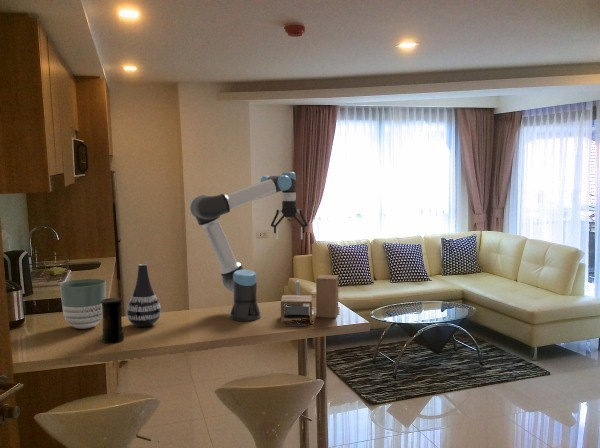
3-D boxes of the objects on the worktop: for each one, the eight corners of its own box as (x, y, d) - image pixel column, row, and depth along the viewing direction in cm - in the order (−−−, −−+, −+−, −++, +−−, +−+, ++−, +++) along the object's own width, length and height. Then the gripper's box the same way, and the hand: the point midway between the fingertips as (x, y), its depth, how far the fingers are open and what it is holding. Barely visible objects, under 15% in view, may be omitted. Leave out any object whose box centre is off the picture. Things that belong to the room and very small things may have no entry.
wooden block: (335, 318, 258) (335, 278, 256) (316, 317, 260) (316, 278, 258) (338, 313, 268) (338, 275, 266) (319, 312, 270) (319, 274, 268)
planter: (116, 323, 251) (114, 280, 249) (87, 335, 232) (85, 288, 230) (83, 320, 257) (81, 277, 255) (52, 331, 238) (50, 285, 237)
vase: (168, 323, 251) (166, 263, 248) (146, 332, 236) (144, 268, 234) (143, 319, 257) (141, 261, 255) (119, 328, 243) (117, 266, 241)
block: (303, 315, 265) (303, 300, 265) (291, 315, 265) (291, 300, 265) (303, 312, 271) (303, 298, 271) (291, 312, 271) (291, 298, 271)
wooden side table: (311, 322, 250) (311, 301, 249) (280, 322, 250) (280, 301, 250) (311, 315, 264) (311, 295, 263) (282, 315, 264) (282, 295, 264)
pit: (306, 326, 244) (306, 326, 244) (285, 326, 244) (285, 326, 244) (306, 323, 249) (306, 323, 249) (286, 323, 249) (286, 323, 249)
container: (105, 337, 228) (103, 297, 227) (125, 337, 229) (124, 297, 227) (98, 344, 219) (97, 302, 218) (120, 343, 220) (119, 301, 218)
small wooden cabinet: (308, 315, 263) (308, 289, 261) (285, 315, 263) (285, 289, 262) (309, 304, 285) (308, 280, 284) (287, 304, 286) (287, 280, 285)
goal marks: (313, 314, 265) (313, 314, 265) (280, 314, 265) (280, 314, 265) (313, 310, 273) (313, 310, 273) (281, 310, 273) (281, 310, 273)
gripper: (265, 200, 278) (266, 240, 280) (311, 200, 277) (312, 239, 279) (266, 200, 285) (267, 238, 287) (311, 200, 285) (312, 238, 286)
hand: (289, 239), depth 283 cm, fingers open, 13 cm apart
